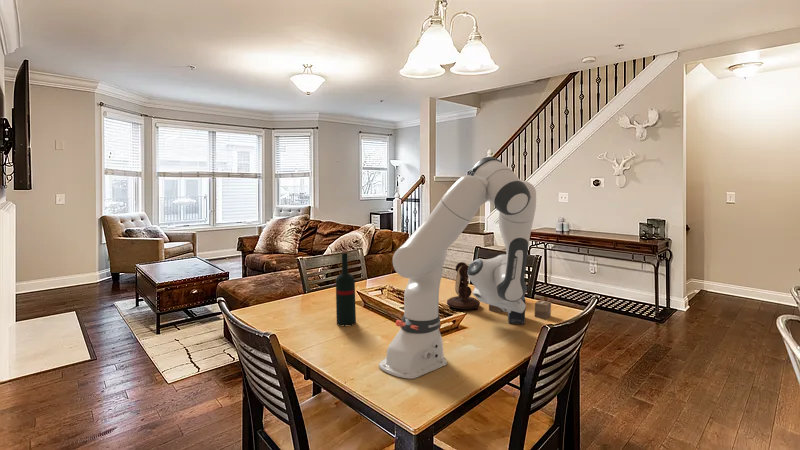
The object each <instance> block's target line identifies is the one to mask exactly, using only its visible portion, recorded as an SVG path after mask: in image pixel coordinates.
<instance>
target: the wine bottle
mask: <svg viewBox="0 0 800 450" xmlns="http://www.w3.org/2000/svg"><path fill="white" fill-rule="evenodd" d="M341 251H342V253H341V267H342V268H341V270H342V271H341V272H342V273H340V274H339V275H337V277H336V278H335V298H336V299H335V301H336V302H335V305H336V306H335V307H336V308H335V309H336V315H335V316H336V325H337V324H339V325H344V326H343V327H346V326H345V325H351V326H353V325H352V324H354V323H355V324H356V323H357V317H356V314H357V312H356V309H357V308H356V286H355V285H356V283H355V281H356V279H355V278H354V276H353V274H351V273H350V272H348V271H349V269H348V268H349V267H348V262H349V261H348V260H349V259H348V253H347V252H348V251H347V249H341ZM355 324H354V325H355ZM339 325H338V326H339Z"/></svg>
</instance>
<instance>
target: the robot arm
mask: <svg viewBox="0 0 800 450" xmlns="http://www.w3.org/2000/svg"><path fill="white" fill-rule="evenodd" d="M487 202H489V203H490V204H492V206H493V207H495V209H496V210H497V211H499V212H498V226H499V227H498V228H499V232H500V234H501V238H502V241H503V244H504V247H505V252H506V253H501V254H498V255H496V256H494V257H492V258H488V259H487V258H486V259H483V258H477V259H474V260H472V261H471V262H470V264H469V265H468V266H469V267H468V270H467V273H468V280H470V283H472V285H473V287H474V289H473V291H472V293H471V295H473V296H475V299H477V300H478V301H479V302H480V303H482V304H486V305H488V306H489V305H493V306H497V307H499V308H501V309H502V310H503V311H502V312H504V313H507V314H508V313H511V311H515V312H518V313H523V311H524V310H525V311H526V307H527V305H526V304H527V303H526V302H525V303H524V302H523V301H522V300H521V298H522V297H523V296H524V297H525V295H526V293H527V291H528V287H527V285H526V282H525V275H526V267H527V260H528V255H529V254H528V253H529V246H530V245H529V244H530V240H531V239H530V238H531V232H532V229H533V223H534V219H535V214H536V207H537V191H536V188H535V186H534V184H532V183H530V182H529V181H526V180H521V179H520V178H519V176H517V174H516V173H515V172H514V171H513V170H512V169H511V168H510V167H508V166H507V165H506V164H505V163H503V161H501V160H500V159H498V158H496V157H493V156H485V157H483V158H481V159H480V160H478V161H477V162H476V163H475V164H474V165H473V167H472V168H471V169H470V171H469V172H468V174H467V175H466V174H465V175H462V176H461V177H460V178H458V179H457V180H456V181H455V182H454V183H453V184H452V185H451V186H450V187H449V188H448V189H447V191H446V192H445V193H444V195H443V196H442V197H441V199H440V200H439V201H438V203H437V204H436V205H435V207H434V208H433V210H432V211H431V213H430V214H429V215H428V217H427V218H425V220H424V221H423V222H422V223H421V224H420V226H419V227H417V228H416V230H414V232H413V233H411V235H410V236H409V237H408V238H407V239H406V241H404V243H403V244H401V245H400V247H398V248H397V249H396V250H395V252H394V253H393V256H392V266H393V269H394V271H395V272H396V273H397V274H398V275H399V276H400V277H403V278H406V279H408V282H407V284H406V286H405V289H404V292H403V294H404V295H403V296H404V297H403V300H404V301H403V303H404V304H403V306H404V310H403V311H404V314H403V316H402V318H401V320H400V319H396V321H395V326H396V327H400V329H399V331H398V332H397V334H396V335H395V336H394V338H393V339H392V340H391V342H390V343H389V345H388V346H387V350H386V357H385V358H383V360H381V361H380V362H379V363H378V367H379V369H380V370H381V371H383V372H385V373H386V374H390V375H392V376H395V377H398V378H403V379H410V380H411V379H417V378H418V377H421V376H423V375H426V374H428V373H430V372H432V371H435V370H438V369H439V368H443V367H444V366H446V365H447V364H448V363H447V362H448V361H447V359H446V358H445V355H444V354H445V352H444V344H443V343H444V342H443V341H444V340H443V337H442V334H441V331H440V327H441V316H440V314H439V308H440V307H439V299H440V297H439V295H440V286H441V280H442V275H443V271H444V270H443V269H444V264H445V261H446V258H447V256H448V248H449V247H450V246H451V245H452V244H453V243H454V242H455V241H457V239H458V238H459V237H460V235H461V234H462V233H463V232H464V230H465V229H466V228H467V226H468V225H469V224H470V222H471V221H472V220H473V219H474V217H475V216H476V214H477V213H478V211H479V210H480V208H481V206H482V205H483V204H485V203H487Z"/></svg>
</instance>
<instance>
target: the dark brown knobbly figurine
mask: <svg viewBox="0 0 800 450" xmlns="http://www.w3.org/2000/svg"><path fill="white" fill-rule="evenodd" d="M468 267H469V265H467V263H466V262H464V261H463V262H462V261H461V262H458V263H457V264H456V266H455V272H456V277H455V286H454V289H455V293H456V295H457V296H453V297H450V298H449V299H447V300H446V305H447V306H448V307H450V308H453V309H454V308H456V309H459V310H469V309H475V310H476V311H477V310H478V309H479V308H478V307H480V306H481V302H480V301H479V300H478V299H477V298H476V297H472V296H471V295H472V293H473V291H472V288H471V287H470V286H469V277H468V273H467V270H468Z"/></svg>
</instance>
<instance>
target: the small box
mask: <svg viewBox="0 0 800 450" xmlns="http://www.w3.org/2000/svg"><path fill="white" fill-rule="evenodd" d="M521 300H522V301H523V302H524V303H525V304H526V298H525V295H524V296H523V297H522V298H521ZM507 321H508V324H511V325H512V324H514V325H525V322H526V309H525V310H524V311H523V313H518V312H515V311H511V313H508V312H507Z"/></svg>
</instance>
